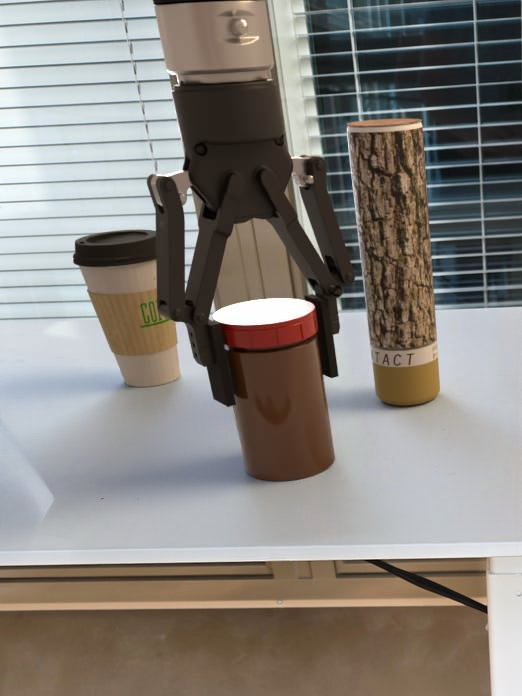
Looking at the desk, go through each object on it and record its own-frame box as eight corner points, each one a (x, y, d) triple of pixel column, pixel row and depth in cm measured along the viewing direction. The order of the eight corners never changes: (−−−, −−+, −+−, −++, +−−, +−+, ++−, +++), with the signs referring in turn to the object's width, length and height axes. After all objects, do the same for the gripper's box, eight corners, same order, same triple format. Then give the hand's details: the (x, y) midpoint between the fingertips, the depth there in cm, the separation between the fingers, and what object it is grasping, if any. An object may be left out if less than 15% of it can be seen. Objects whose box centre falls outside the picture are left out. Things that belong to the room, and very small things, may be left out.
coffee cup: (209, 379, 101) (177, 236, 92) (122, 398, 96) (80, 251, 88) (180, 359, 107) (149, 224, 99) (98, 376, 103) (57, 237, 94)
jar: (243, 485, 76) (212, 338, 69) (247, 450, 83) (220, 312, 76) (336, 475, 77) (315, 329, 70) (333, 441, 84) (314, 304, 76)
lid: (318, 343, 70) (315, 319, 69) (212, 352, 70) (207, 329, 68) (317, 316, 77) (314, 294, 76) (221, 324, 76) (216, 302, 75)
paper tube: (404, 382, 97) (380, 118, 83) (453, 392, 93) (437, 118, 79) (362, 401, 92) (329, 125, 78) (413, 412, 89) (388, 126, 75)
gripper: (88, 89, 55) (174, 433, 68) (379, 68, 66) (406, 367, 79) (50, 88, 60) (137, 409, 73) (327, 68, 71) (361, 350, 84)
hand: (277, 387), depth 76 cm, fingers open, 9 cm apart
